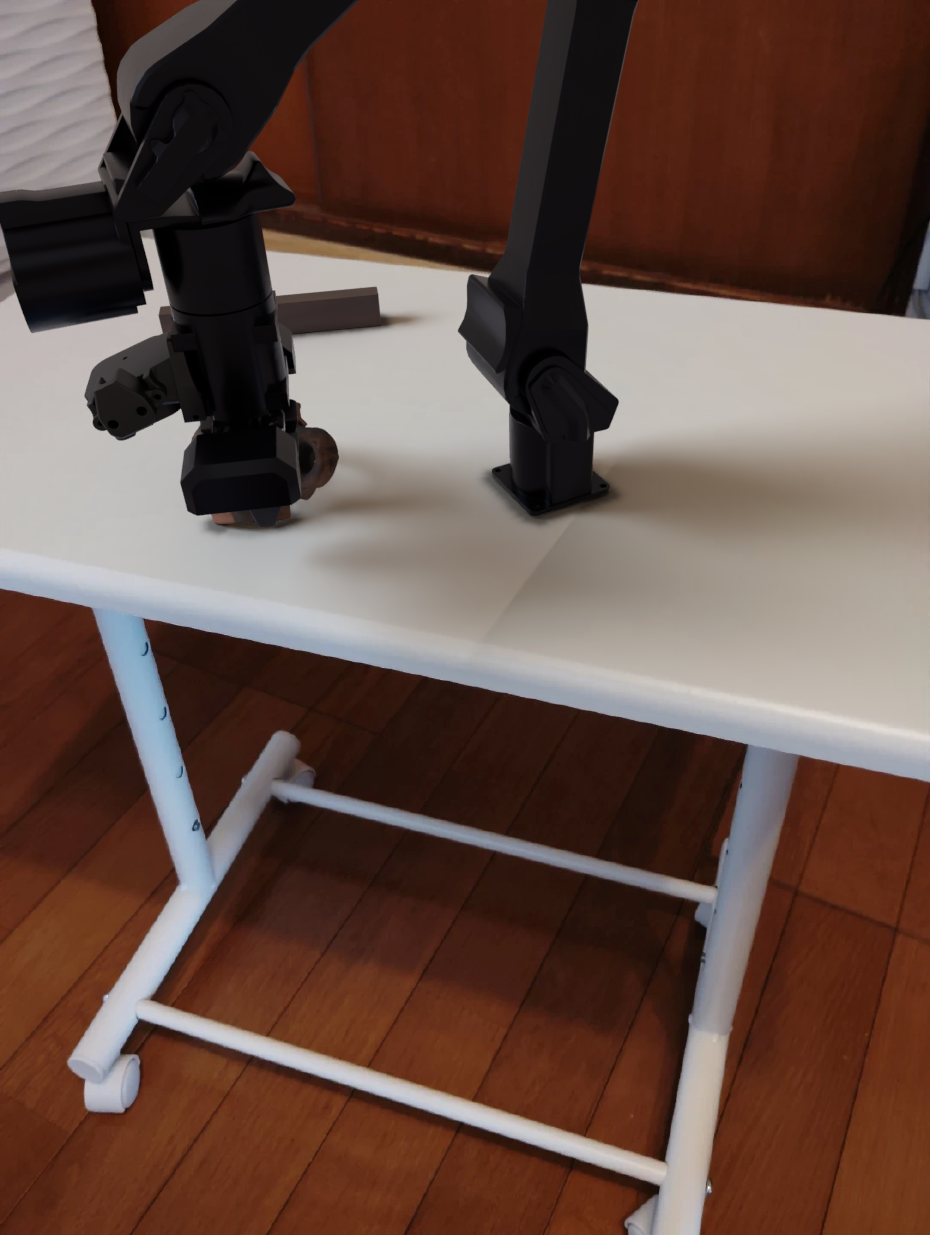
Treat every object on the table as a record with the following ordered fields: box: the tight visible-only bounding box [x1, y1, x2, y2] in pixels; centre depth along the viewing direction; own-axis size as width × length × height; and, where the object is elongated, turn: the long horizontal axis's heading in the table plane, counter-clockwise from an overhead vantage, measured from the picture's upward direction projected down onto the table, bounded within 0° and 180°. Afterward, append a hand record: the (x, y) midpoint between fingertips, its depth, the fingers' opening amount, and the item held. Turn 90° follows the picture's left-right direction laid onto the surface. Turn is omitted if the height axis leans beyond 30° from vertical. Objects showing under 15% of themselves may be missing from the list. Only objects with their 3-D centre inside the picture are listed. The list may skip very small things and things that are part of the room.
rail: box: [157, 286, 382, 335], centre depth 94 cm, size 2×20×3 cm, turn 98°
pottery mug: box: [190, 401, 340, 525], centre depth 73 cm, size 12×10×8 cm
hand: (267, 524), depth 67 cm, fingers closed
